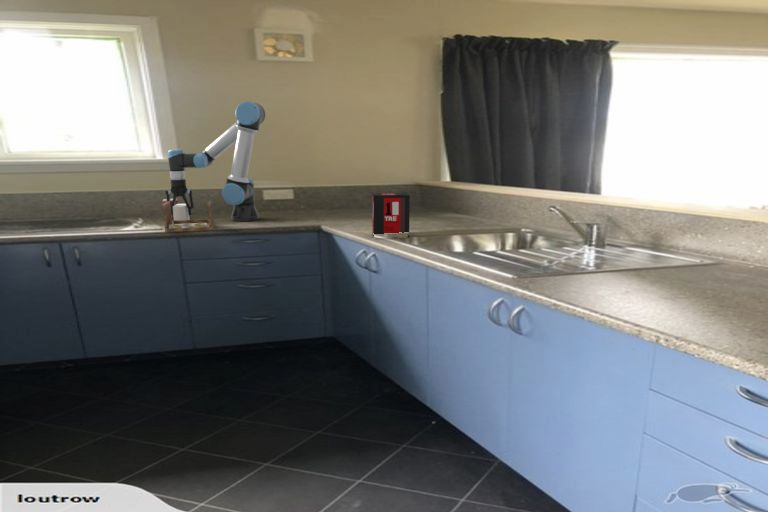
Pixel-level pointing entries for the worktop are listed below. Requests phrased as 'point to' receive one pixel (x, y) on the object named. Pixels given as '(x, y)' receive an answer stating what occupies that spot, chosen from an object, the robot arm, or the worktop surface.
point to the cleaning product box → (390, 212)
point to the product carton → (180, 212)
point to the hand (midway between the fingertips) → (182, 221)
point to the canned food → (170, 203)
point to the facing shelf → (187, 224)
